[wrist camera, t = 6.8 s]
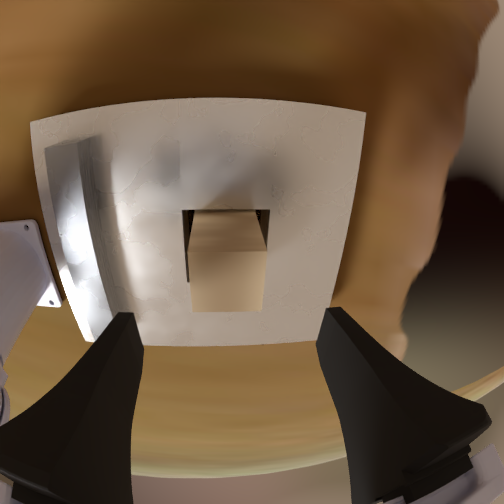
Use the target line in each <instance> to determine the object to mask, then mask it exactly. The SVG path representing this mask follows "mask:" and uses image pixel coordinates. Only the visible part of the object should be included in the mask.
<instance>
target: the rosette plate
mask: <svg viewBox="0 0 504 504" xmlns="http://www.w3.org/2000/svg"><path fill="white" fill-rule="evenodd" d="M365 118H366V112H361V111H356V110H350V109H344V108H338V107H332V106H325V105H318V104H310V103H302V102H292V101H281V100H268V99H250V98H182V99H165V100H152V101H141V102H132V103H124V104H116V105H109V106H102V107H96V108H90V109H85V110H80V111H75V112H70V113H65V114H61V115H56V116H52V117H48V118H44V119H40V120H36V121H33V122H30V129H31V141H32V151H33V160H34V167H35V174H36V180H37V186H38V192H39V197H40V202H41V207H42V212H43V216H44V221H45V225H46V229H47V233H48V237H49V241H50V244H51V248H52V251H53V255H54V258H55V261H56V265H57V268H58V271H59V274H60V277H61V280H62V283H63V286H64V289H65V291H66V294H67V297H68V299H69V302H70V305H71V307H72V310H73V312H74V315H75V317H76V320H77V322H78V324H79V327H80V329H81V331H82V334H83V336H84V338H85V340H86V341H91V342H95V341H96V340H97V338H98V337H99V336H100V334H101V333H102V332H103V331H104V329H105V328H106V327H107V325H108V324H109V323H110V322H111V320H112V319H113V318H114V317H115V315H116V314H117V313H118V312H134V316H135V320H136V323H137V327H138V330H139V334H140V337H141V341H142V344H143V345H156V346H233V345H257V344H274V343H288V342H300V341H311V340H317V338H318V334H319V331H320V327H321V324H322V320H323V317H324V313H325V309H326V308H329V305H330V302H331V298H332V294H333V290H334V286H335V282H336V278H337V274H338V270H339V266H340V262H341V258H342V253H343V249H344V244H345V240H346V235H347V230H348V225H349V220H350V215H351V210H352V205H353V199H354V194H355V188H356V182H357V176H358V170H359V164H360V157H361V150H362V143H363V135H364V127H365ZM200 209H261V217H260V229H261V232H262V235H263V239H264V242H265V245H266V249H267V260H266V271H265V282H264V292H263V302H262V311H245V312H192V302H191V291H190V279H189V266H188V246H189V240H190V238H189V219H188V210H200Z"/></svg>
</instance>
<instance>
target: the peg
mask: <svg viewBox="0 0 504 504" xmlns="http://www.w3.org/2000/svg"><path fill="white" fill-rule="evenodd" d="M266 260H267V249H266V245H265V242H264V239H263V235H262V232H261V229H260V225H259V222H258V219H257V216H256V212H255V209H200V210H195V213H194V219H193V224H192V229H191V235H190V240H189V246H188V266H189V279H190V291H191V302H192V312H245V311H262V302H263V292H264V282H265V271H266Z"/></svg>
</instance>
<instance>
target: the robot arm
mask: <svg viewBox="0 0 504 504" xmlns="http://www.w3.org/2000/svg"><path fill="white" fill-rule="evenodd" d="M27 226H28V227H29V228H27ZM36 305H38V306H50V307H60V306H61V305H62V299H61V297H60V294H59V292H58V289H57V286H56V283H55V281H54V278H53V275H52V272H51V269H50V266H49V263H48V259H47V256H46V253H45V250H44V246H43V243H42V239H41V235H40V231H39V228H38V224H37V222H36V221H35V220H32V219H30V220H19V221H9V222H0V473H1V474H2V475H4V476H6V477H7V478H9V479H11V480H12V481H14V483H13V487H12V486H10V485H8V484H6V483H4V482H3V481H1V480H0V504H133V496H132V485H131V429H132V421H133V415H134V410H135V405H136V399H137V394H138V389H139V384H140V380H141V375H142V367H143V356H144V347H143V344H142V341H141V337H140V334H139V330H138V327H137V323H136V320H135V316H134V312H118V313H117V314H116V315H115V317H114V318H113V319H112V320H111V322H110V323H109V324H108V325H107V327H106V328H105V329H104V331H103V332H102V333H101V334H100V336H99V337H98V338H97V340H96V341H95V342H94V343H93V344H92V346H91V347H90V348H89V349H88V351H87V352H86V353H85V354H84V355H83V357H82V358H81V359H80V360H79V361H78V362H77V363H76V365H75V366H74V367H73V368H72V369H71V370H70V371H69V372H68V373H67V375H66V376H65V377H64V378H63V379H62V380H61V381H60V382H59V383H58V384H57V385H56V386H54V387H53V388H52V389H51V390H50V391H49V392H48V393H47V394H45V395H44V396H43V397H42V398H41V399H39V400H38V401H37V402H36V403H35V404H33V405H32V406H31V407H29V408H28V409H27V410H25V411H24V412H22V413H21V414H19V415H18V416H16V417H15V418H13V419H12V420H10V421H9V415H10V400H9V396H8V393H7V391H6V389H5V388H4V385H5V382H6V380H7V378H8V375H7V374H6V372H5V371H4V369H3V365H4V363H5V361H6V359H7V357H8V355H9V353H10V351H11V349H12V347H13V345H14V343H15V342H16V340H17V338H18V336H19V334H20V332H21V331H22V329H23V327H24V325H25V324H26V322H27V320H28V319H29V317H30V315H31V314H32V312H33V310H34V309H35V307H36ZM316 348H317V352H318V357H319V361H320V366H321V369H322V371H323V374H324V377H325V380H326V383H327V385H328V388H329V391H330V393H331V396H332V399H333V402H334V404H335V407H336V410H337V413H338V416H339V419H340V424H341V428H342V433H343V437H344V442H345V448H346V453H347V459H348V466H349V474H350V484H351V499H352V504H377V503H379V502H382V501H383V504H491V503H492V502H493V501H494V500H495V499H496V498H497V497H499V496H500V495H501V494H502V493H503V492H504V466H503V464H502V462H501V459H500V457H499V455H498V453H497V451H496V449H495V447H494V444H493V443H491V444H490V445H489V446H487V447H486V448H484V449H483V450H481V451H480V452H478V453H477V454H475V455H474V456H472V457H471V458H469V456H468V453H469V452H471V448H470V446H469V444H470V443H471V442H472V441H474V440H475V439H476V438H477V437H478V436H480V435H481V434H482V433H483V432H484V431H485V430H486V429H488V428H489V426H490V425H491V423H492V421H491V418H490V417H489V415H488V413H487V411H486V409H485V408H484V406H483V405H482V404H479V403H476V402H473V401H471V400H468V399H465V398H462V397H460V396H458V395H456V394H453V393H451V392H449V391H447V390H445V389H443V388H441V387H439V386H437V385H436V384H434V383H432V382H430V381H429V380H427V379H425V378H424V377H422V376H421V375H419V374H417V373H416V372H415V371H413V370H412V369H410V368H409V367H407V366H406V365H405V364H403V363H402V362H401V361H399V360H398V359H397V358H396V357H394V356H393V355H392V354H391V353H390V352H388V351H387V350H386V349H385V348H384V347H383V346H381V345H380V344H379V343H378V342H377V341H376V340H375V339H374V338H373V337H371V336H370V335H369V334H368V333H367V332H366V331H365V330H364V329H363V328H362V327H361V326H360V325H359V324H358V323H357V322H356V321H355V320H354V319H353V318H352V317H351V316H350V315H349V314H347V313H346V312H345V311H344V310H343V309H342V308H341V307H332V308H326V309H325V313H324V317H323V320H322V324H321V327H320V331H319V334H318V338H317V341H316Z"/></svg>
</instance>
